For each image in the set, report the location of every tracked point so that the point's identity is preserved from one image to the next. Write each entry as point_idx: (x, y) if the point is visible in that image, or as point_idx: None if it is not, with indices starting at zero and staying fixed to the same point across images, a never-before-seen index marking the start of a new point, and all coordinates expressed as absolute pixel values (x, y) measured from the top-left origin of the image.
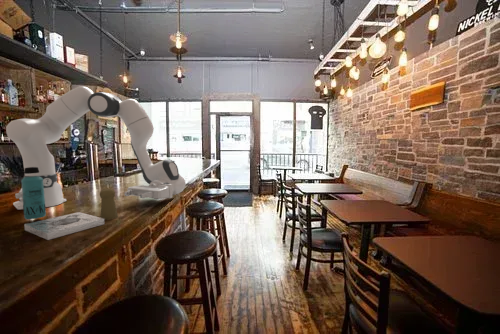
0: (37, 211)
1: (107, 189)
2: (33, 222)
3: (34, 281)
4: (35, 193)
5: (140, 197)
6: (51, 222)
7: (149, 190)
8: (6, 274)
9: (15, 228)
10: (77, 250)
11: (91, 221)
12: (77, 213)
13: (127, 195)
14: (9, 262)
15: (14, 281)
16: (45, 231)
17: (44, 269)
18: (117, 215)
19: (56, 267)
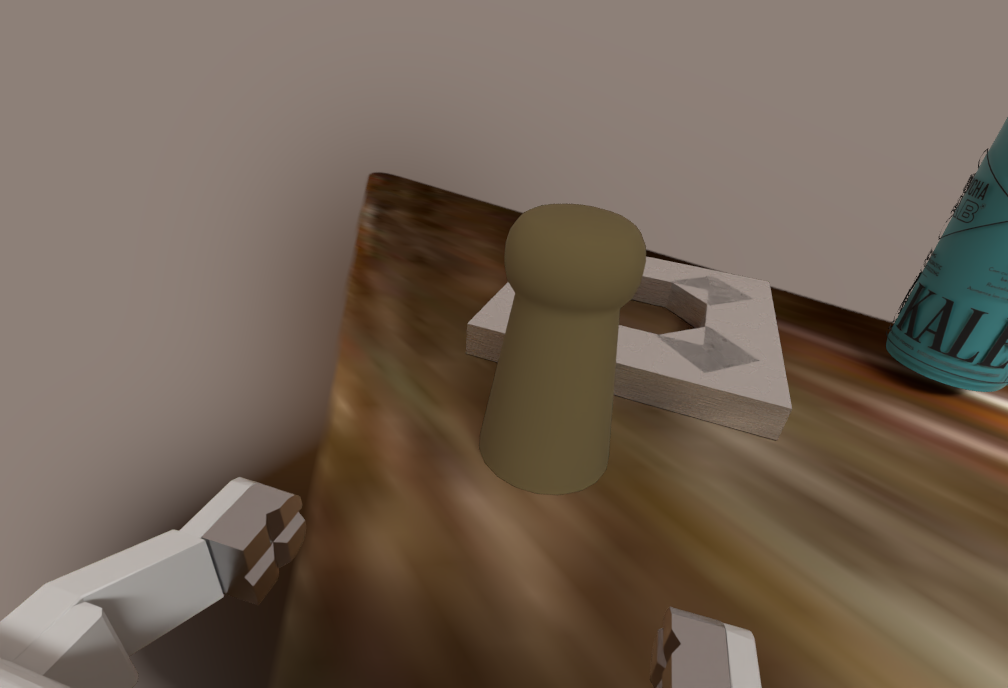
0: (903, 311)
1: (570, 208)
2: (767, 292)
3: (377, 183)
4: (964, 199)
5: (300, 530)
6: (690, 295)
7: (61, 684)
8: (454, 193)
9: (833, 317)
10: (385, 227)
11: (501, 297)
12: (757, 386)
13: (652, 652)
14: (502, 209)
15: (414, 185)
16: None
17: (394, 196)
18: (487, 453)
19: (374, 198)
